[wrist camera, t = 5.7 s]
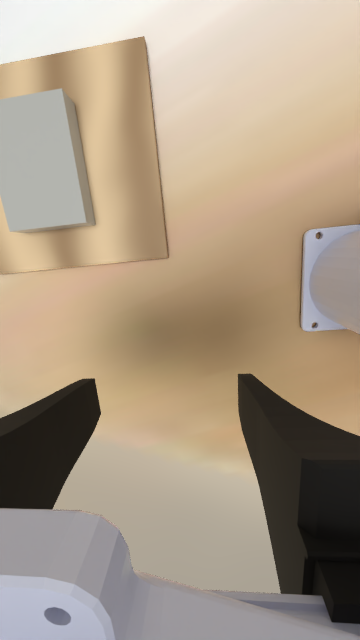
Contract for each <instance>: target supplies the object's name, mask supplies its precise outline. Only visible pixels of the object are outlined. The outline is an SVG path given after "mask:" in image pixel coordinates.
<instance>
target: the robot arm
mask: <svg viewBox="0 0 360 640" xmlns="http://www.w3.org/2000/svg"><path fill="white" fill-rule="evenodd" d="M318 232H319V233H320V235H321V236H320V238H319V239H317V238H316V234H317V233H318ZM315 322H316V326H315V327H312V324H313V323H315ZM301 328H302V329H303V330H304V331H324V330H339V329H350V330H352V331H354V332H356V333H358V334H360V224H358V225H348V226H339V227H329V228H320V229H311V230H308V231H307V232H305V234H304V237H303V265H302V295H301ZM238 407H239V416H240V422H241V427H242V431H243V435H244V438H245V441H246V444H247V448H248V451H249V454H250V457H251V460H252V463H253V466H254V470H255V473H256V476H257V480H258V483H259V487H260V492H261V496H262V500H263V506H264V510H265V515H266V519H267V525H268V530H269V534H270V539H271V544H272V549H273V555H274V559H275V564H276V570H277V574H278V579H279V586H280V590H281V594H278V593H257V592H238V591H220V590H202V589H198V588H195V587H192V586H188V585H185V584H181V583H178V582H175V581H171V580H168V579H164V578H161V577H158V576H154V575H151V574H147V573H144V572H141V571H137V570H133V568H132V565H131V559H130V554H129V548H128V546H127V543H126V542H125V540H124V538H123V536H122V534H121V532H120V530H119V529H118V527H117V526H116V525H114V524H113V523H112V522H110V521H109V520H107V519H106V518H104V517H103V516H101V515H99V514H94V513H90V512H86V511H81V510H52V509H53V507H54V504H55V502H56V500H57V498H58V496H59V494H60V492H61V489H62V487H63V485H64V483H65V481H66V479H67V477H68V475H69V474H70V472H71V470H72V468H73V466H74V464H75V463H76V461H77V460H78V458H79V456H80V455H81V453H82V451H83V449H84V448H85V446H86V444H87V443H88V441H89V439H90V437H91V435H92V434H93V432H94V430H95V427H96V425H97V422H98V420H99V417H100V415H101V411H100V405H99V400H98V395H97V389H96V384H95V379H81V380H79V381H77V382H74V383H72V384H70V385H68V386H66V387H65V388H63V389H61V390H59V391H57V392H55V393H53V394H51V395H49V396H47V397H46V398H44V399H41V400H39V401H37V402H35V403H33V404H31V405H29V406H27V407H25V408H23V409H21V410H19V411H16V412H14V413H12V414H9V415H7V416H5V417H2V418H0V640H360V436H357V435H355V434H352V433H349V432H347V431H344V430H342V429H339V428H337V427H334V426H332V425H330V424H328V423H325V422H323V421H321V420H319V419H317V418H315V417H313V416H311V415H309V414H307V413H305V412H304V411H302V410H300V409H298V408H297V407H295V406H293V405H292V404H290V403H289V402H287V401H286V400H284V399H283V398H281V397H280V396H278V395H277V394H276V393H274V392H273V391H272V390H270V389H269V388H268V387H267V386H265V385H264V384H263V383H262V382H261V381H259V380H258V379H257V378H256V377H255V376H253V375H252V374H238Z"/></svg>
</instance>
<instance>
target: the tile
mask: <svg viewBox="0 0 360 640" xmlns="http://www.w3.org/2000/svg"><path fill="white" fill-rule="evenodd" d="M0 197H1V201H2V204H3V208H4V212H5V216H6V220H7V223H8V227H9V231H10V232H17V233H32V232H41V231H49V230H58V229H66V228H75V227H83V226H92V225H96V224H95V219H94V213H93V207H92V201H91V196H90V190H89V184H88V178H87V173H86V167H85V161H84V156H83V150H82V144H81V138H80V133H79V127H78V121H77V115H76V110H75V104H74V102H73V101H72V100H71V99H70V98H69V96H68V95H67V94H66V93H65V92H64V90H63V89H62V88H61V89H55V90H50V91H44V92H39V93H33V94H28V95H22V96H17V97H11V98H5V99H0Z"/></svg>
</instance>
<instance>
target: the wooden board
mask: <svg viewBox="0 0 360 640" xmlns="http://www.w3.org/2000/svg"><path fill="white" fill-rule="evenodd" d="M61 88H62V89H63V90H64V92H65V93H66V94H67V95H68V96H69V98H70V99H71V100H72V101H73V102H74V104H75V110H76V115H77V121H78V127H79V133H80V138H81V144H82V150H83V156H84V161H85V167H86V173H87V178H88V184H89V190H90V196H91V201H92V207H93V213H94V219H95V224H96V225H92V226H83V227H75V228H66V229H58V230H49V231H41V232H32V233H17V232H10V231H9V227H8V223H7V220H6V216H5V212H4V208H3V204H2V201H1V197H0V274H9V273H19V272H29V271H39V270H49V269H59V268H69V267H79V266H89V265H99V264H109V263H119V262H129V261H139V260H149V259H159V258H169V257H168V247H167V238H166V228H165V219H164V209H163V200H162V190H161V181H160V171H159V162H158V152H157V143H156V134H155V124H154V115H153V105H152V96H151V86H150V77H149V67H148V58H147V48H146V42H145V38H144V36H143V37H138V38H133V39H128V40H123V41H118V42H113V43H108V44H103V45H98V46H92V47H87V48H82V49H77V50H72V51H67V52H62V53H57V54H52V55H47V56H42V57H36V58H31V59H26V60H21V61H16V62H11V63H6V64H1V65H0V99H5V98H11V97H17V96H22V95H28V94H33V93H39V92H44V91H50V90H55V89H61Z"/></svg>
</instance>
